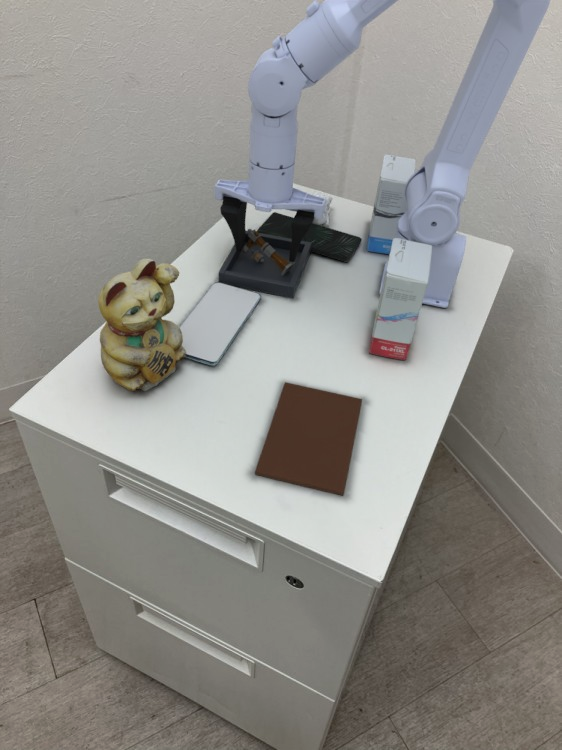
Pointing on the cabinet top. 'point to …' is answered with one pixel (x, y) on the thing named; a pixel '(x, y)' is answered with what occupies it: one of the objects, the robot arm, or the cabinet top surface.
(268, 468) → the desk pad
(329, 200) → the toy
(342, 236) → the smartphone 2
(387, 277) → the ink box
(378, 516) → the cabinet top surface
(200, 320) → the smartphone
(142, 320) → the decorative figurine
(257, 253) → the brown grey jointed column
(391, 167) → the ink box
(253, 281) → the tray
